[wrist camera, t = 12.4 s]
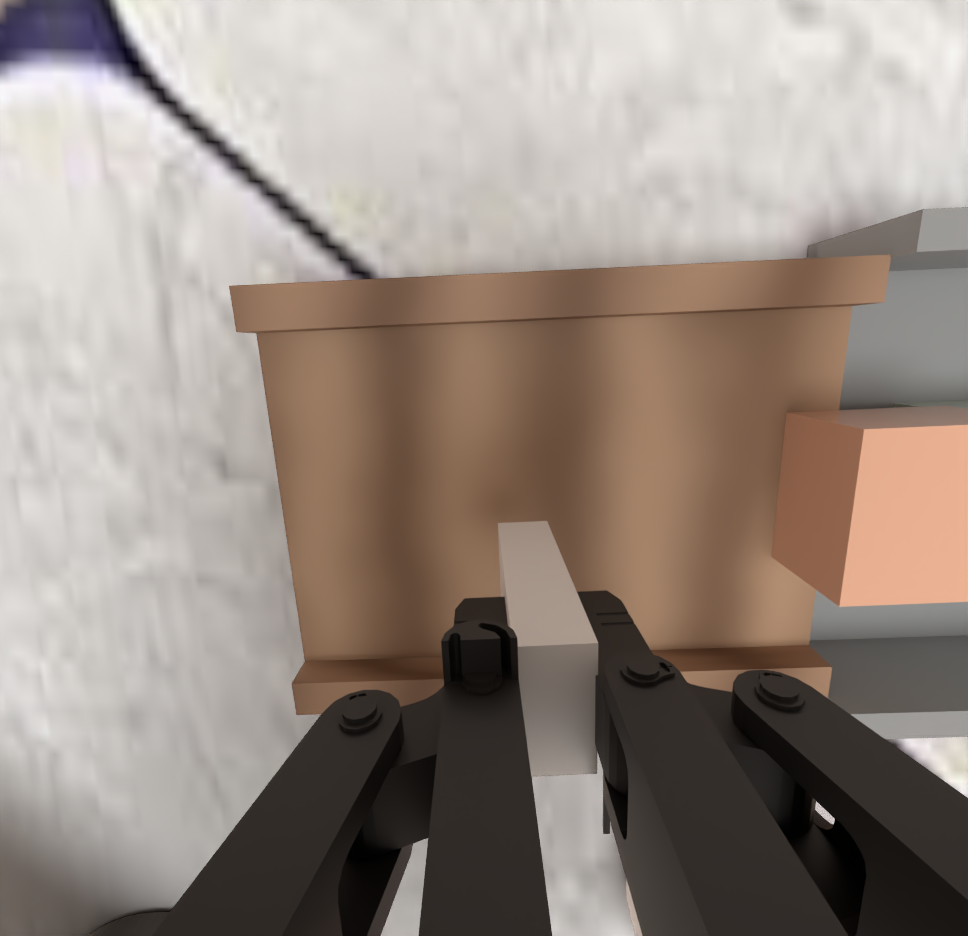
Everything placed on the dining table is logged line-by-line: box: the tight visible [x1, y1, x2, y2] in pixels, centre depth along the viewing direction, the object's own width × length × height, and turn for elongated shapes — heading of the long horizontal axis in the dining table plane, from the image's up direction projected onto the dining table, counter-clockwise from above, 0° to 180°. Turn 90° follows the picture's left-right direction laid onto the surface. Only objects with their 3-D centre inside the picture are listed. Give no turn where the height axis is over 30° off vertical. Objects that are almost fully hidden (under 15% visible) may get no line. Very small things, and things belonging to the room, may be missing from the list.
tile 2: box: [772, 406, 968, 607], centre depth 18 cm, size 6×6×4 cm
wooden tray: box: [229, 254, 891, 715], centre depth 21 cm, size 22×17×4 cm
